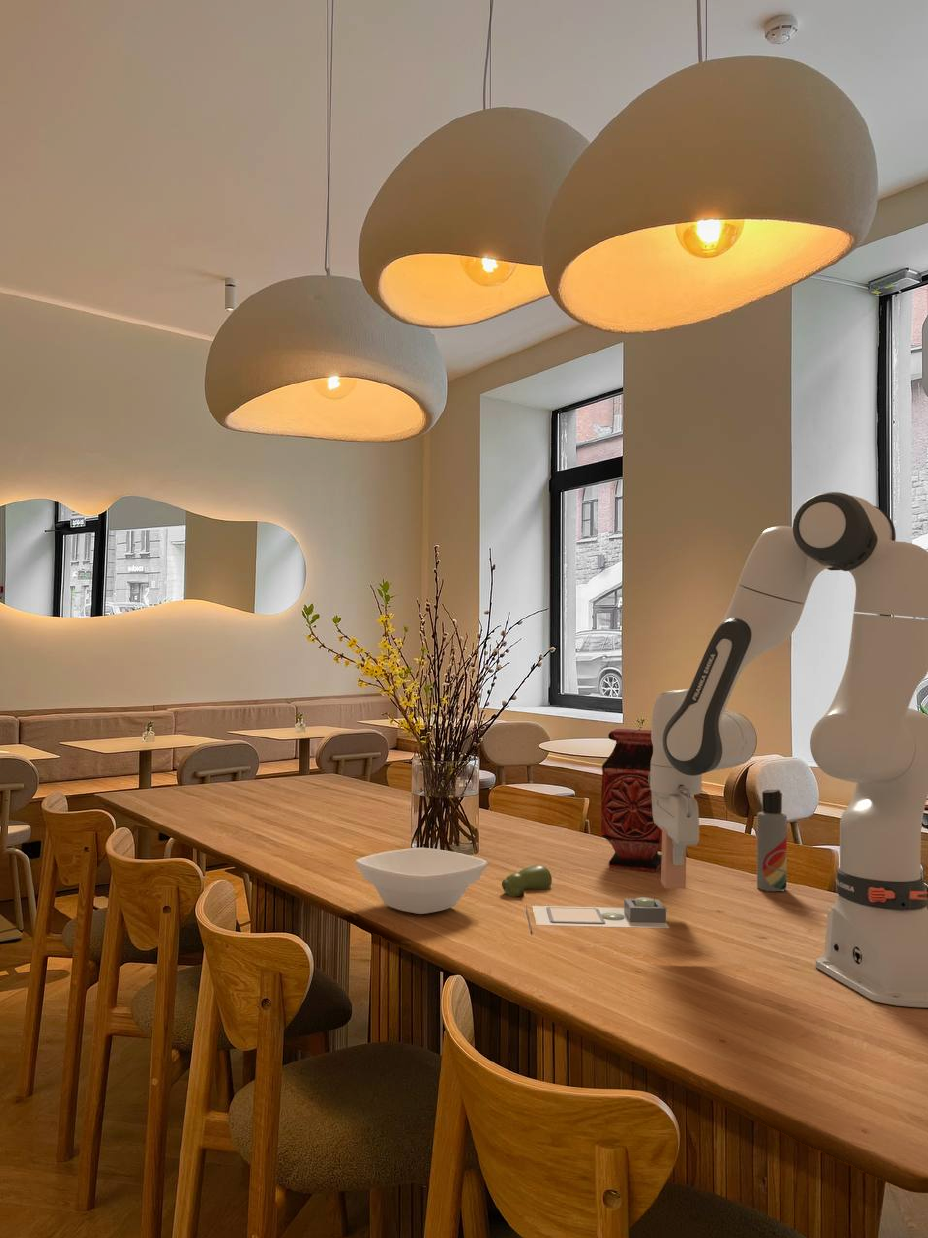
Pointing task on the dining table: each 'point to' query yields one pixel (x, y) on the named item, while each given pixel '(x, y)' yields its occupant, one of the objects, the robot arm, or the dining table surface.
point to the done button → (644, 902)
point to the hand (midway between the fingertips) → (674, 860)
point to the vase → (630, 803)
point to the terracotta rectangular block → (671, 865)
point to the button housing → (645, 912)
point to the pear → (527, 880)
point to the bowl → (421, 877)
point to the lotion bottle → (771, 843)
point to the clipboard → (586, 917)
